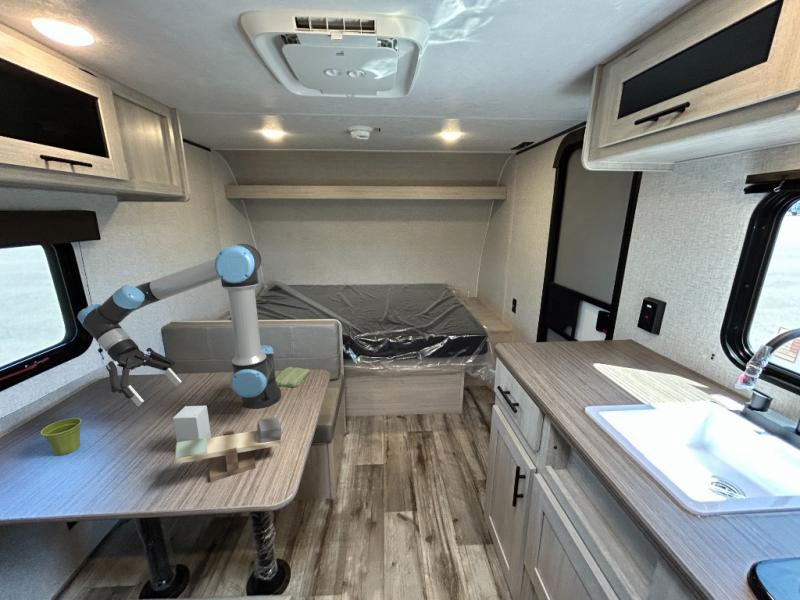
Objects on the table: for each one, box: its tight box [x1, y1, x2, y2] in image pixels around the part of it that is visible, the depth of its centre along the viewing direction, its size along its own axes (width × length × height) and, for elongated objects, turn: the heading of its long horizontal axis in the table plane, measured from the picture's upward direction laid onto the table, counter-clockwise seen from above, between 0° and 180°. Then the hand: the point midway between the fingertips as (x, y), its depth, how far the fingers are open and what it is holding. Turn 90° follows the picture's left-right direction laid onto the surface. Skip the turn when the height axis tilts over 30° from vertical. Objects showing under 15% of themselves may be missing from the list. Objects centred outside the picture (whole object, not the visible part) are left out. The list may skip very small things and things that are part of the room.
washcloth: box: [275, 366, 311, 388], centre depth 161 cm, size 13×18×3 cm
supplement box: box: [172, 405, 212, 443], centre depth 112 cm, size 7×7×13 cm
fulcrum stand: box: [208, 429, 256, 483], centre depth 104 cm, size 12×11×8 cm
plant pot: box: [40, 417, 83, 456], centre depth 110 cm, size 9×9×9 cm
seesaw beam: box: [173, 416, 283, 465], centre depth 103 cm, size 28×8×6 cm, turn 120°
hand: (161, 393), depth 112 cm, fingers open, 13 cm apart
